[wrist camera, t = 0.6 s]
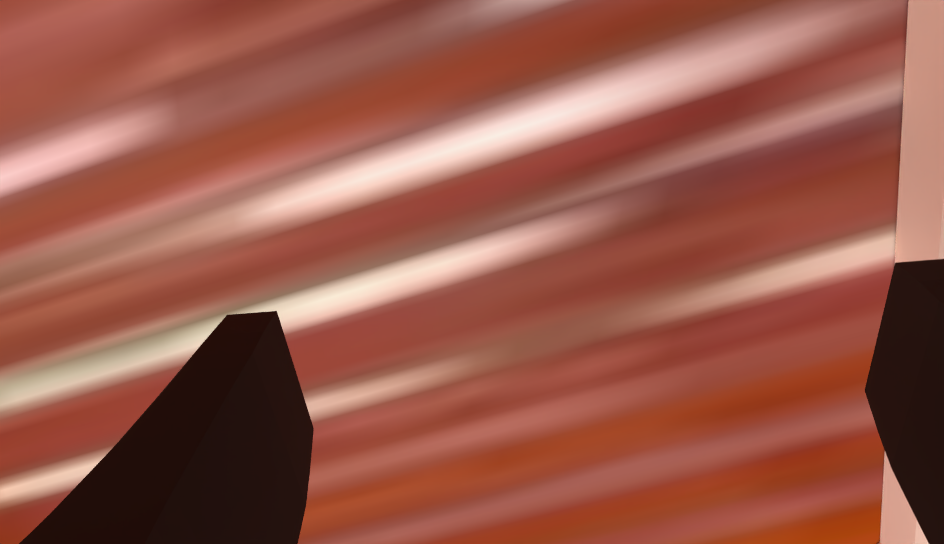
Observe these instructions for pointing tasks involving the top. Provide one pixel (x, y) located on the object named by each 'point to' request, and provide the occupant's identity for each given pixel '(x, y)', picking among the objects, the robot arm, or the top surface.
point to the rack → (918, 200)
